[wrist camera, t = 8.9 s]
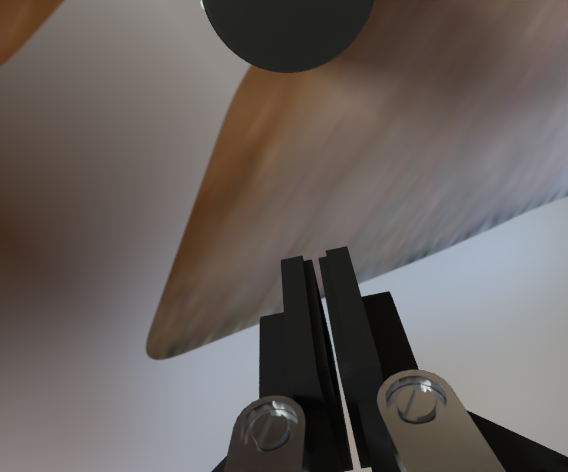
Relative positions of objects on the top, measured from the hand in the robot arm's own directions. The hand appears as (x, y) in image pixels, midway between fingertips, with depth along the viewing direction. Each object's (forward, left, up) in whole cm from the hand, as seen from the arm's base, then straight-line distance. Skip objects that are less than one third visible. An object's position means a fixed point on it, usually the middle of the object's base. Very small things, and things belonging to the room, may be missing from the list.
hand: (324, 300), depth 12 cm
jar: (-1, -6, -27) cm, 28 cm away
